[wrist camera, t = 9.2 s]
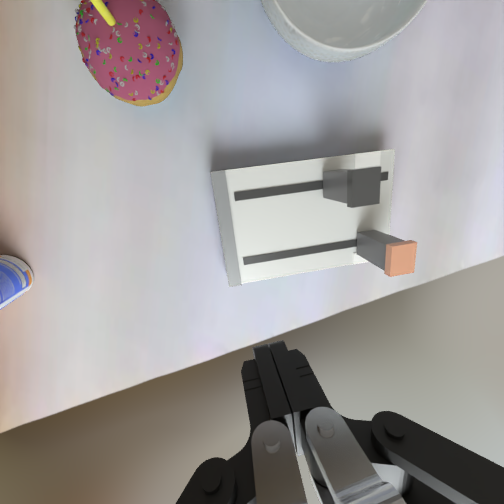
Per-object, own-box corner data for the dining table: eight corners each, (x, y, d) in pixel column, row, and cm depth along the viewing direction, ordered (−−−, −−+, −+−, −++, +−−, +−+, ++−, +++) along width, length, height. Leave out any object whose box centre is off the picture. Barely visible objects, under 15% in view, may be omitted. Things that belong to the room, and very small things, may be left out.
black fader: (321, 170, 29) (352, 170, 22) (343, 167, 29) (381, 166, 23) (321, 199, 30) (351, 207, 24) (343, 196, 30) (379, 203, 24)
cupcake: (81, 61, 25) (-23, -26, 14) (138, -5, 24) (75, -155, 13) (150, 131, 28) (109, 106, 17) (203, 74, 27) (197, 6, 16)
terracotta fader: (355, 231, 32) (392, 246, 26) (376, 227, 32) (417, 242, 26) (355, 255, 33) (389, 276, 27) (374, 252, 33) (413, 272, 27)
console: (210, 171, 30) (210, 172, 27) (379, 150, 33) (397, 148, 29) (227, 276, 35) (229, 287, 32) (374, 251, 37) (389, 259, 34)
